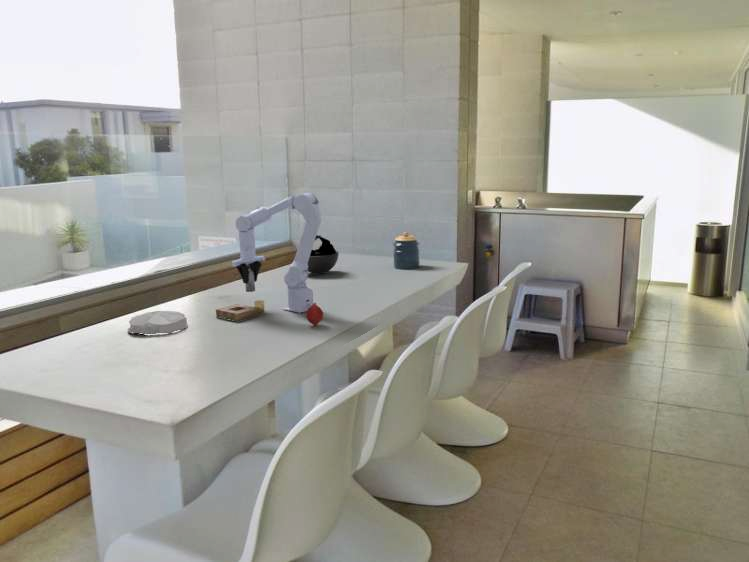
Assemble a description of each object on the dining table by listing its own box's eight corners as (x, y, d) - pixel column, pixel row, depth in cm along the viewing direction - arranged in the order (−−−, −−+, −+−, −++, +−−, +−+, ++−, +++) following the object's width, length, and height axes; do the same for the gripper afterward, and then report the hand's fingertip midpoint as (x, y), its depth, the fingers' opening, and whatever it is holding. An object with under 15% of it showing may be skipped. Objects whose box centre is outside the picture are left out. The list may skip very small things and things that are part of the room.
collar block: (258, 315, 242) (258, 307, 241) (237, 322, 234) (236, 313, 233) (238, 311, 249) (237, 303, 248) (216, 317, 242) (215, 309, 241)
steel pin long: (257, 290, 253) (255, 270, 251) (249, 292, 250) (248, 271, 248) (251, 289, 255) (249, 269, 253) (243, 291, 252) (242, 270, 251)
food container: (185, 320, 242) (183, 301, 241) (190, 331, 224) (188, 312, 222) (127, 327, 235) (124, 309, 234) (128, 340, 217) (125, 320, 215)
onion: (308, 328, 222) (306, 305, 221) (305, 324, 228) (304, 301, 226) (325, 326, 224) (324, 303, 222) (321, 322, 229) (320, 300, 228)
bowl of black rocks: (301, 270, 330) (299, 233, 326) (341, 269, 329) (339, 231, 325) (295, 278, 310) (292, 238, 306) (337, 277, 309) (335, 237, 305)
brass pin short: (266, 312, 246) (265, 301, 245) (259, 314, 243) (258, 303, 242) (260, 311, 248) (259, 299, 247) (253, 313, 245) (252, 301, 245)
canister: (390, 266, 333) (389, 231, 329) (414, 263, 336) (413, 229, 333) (398, 270, 321) (397, 234, 317) (423, 268, 324) (422, 232, 321)
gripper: (255, 243, 257) (257, 277, 260) (225, 249, 246) (228, 284, 249) (267, 245, 253) (269, 279, 255) (237, 250, 242) (240, 286, 244)
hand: (250, 282), depth 252 cm, fingers closed on steel pin long, 4 cm apart
